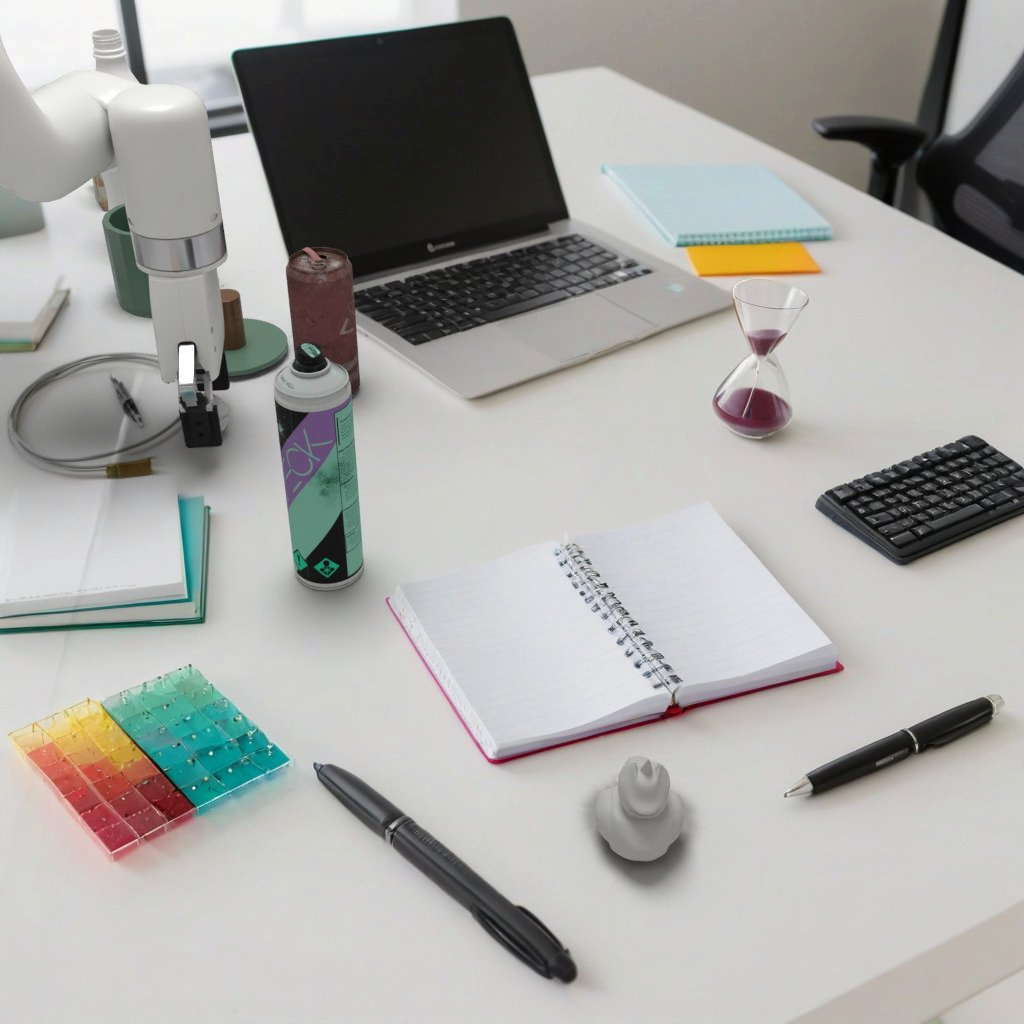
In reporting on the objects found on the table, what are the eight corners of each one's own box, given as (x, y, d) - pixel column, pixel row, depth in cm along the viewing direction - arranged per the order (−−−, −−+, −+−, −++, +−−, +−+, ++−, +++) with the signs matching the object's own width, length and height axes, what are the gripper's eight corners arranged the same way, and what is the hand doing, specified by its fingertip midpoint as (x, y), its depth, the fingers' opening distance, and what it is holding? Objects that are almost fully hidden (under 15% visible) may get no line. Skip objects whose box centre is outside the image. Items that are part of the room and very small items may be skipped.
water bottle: (128, 234, 143) (88, 22, 128) (184, 239, 142) (150, 26, 127) (104, 259, 137) (59, 39, 122) (161, 263, 136) (124, 43, 121)
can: (333, 366, 118) (322, 237, 110) (372, 390, 114) (364, 259, 106) (284, 387, 115) (269, 256, 106) (323, 412, 111) (311, 278, 103)
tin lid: (170, 384, 115) (159, 324, 110) (182, 330, 124) (172, 272, 120) (287, 379, 116) (280, 319, 112) (289, 325, 125) (283, 268, 121)
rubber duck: (594, 876, 70) (603, 789, 65) (591, 789, 75) (599, 703, 70) (683, 879, 70) (699, 793, 65) (675, 793, 75) (689, 707, 70)
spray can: (312, 541, 95) (289, 324, 83) (374, 554, 94) (360, 336, 82) (283, 582, 91) (254, 359, 79) (347, 597, 90) (328, 373, 78)
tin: (112, 319, 125) (95, 237, 119) (125, 277, 133) (110, 198, 128) (210, 315, 126) (198, 233, 121) (217, 274, 135) (206, 196, 129)
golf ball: (191, 422, 109) (185, 385, 107) (234, 421, 109) (229, 384, 107) (184, 445, 106) (178, 408, 104) (229, 444, 106) (223, 407, 104)
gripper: (146, 204, 103) (177, 372, 113) (118, 290, 89) (156, 472, 99) (232, 201, 104) (254, 368, 114) (217, 286, 90) (245, 467, 100)
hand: (209, 416), depth 107 cm, fingers open, 9 cm apart
